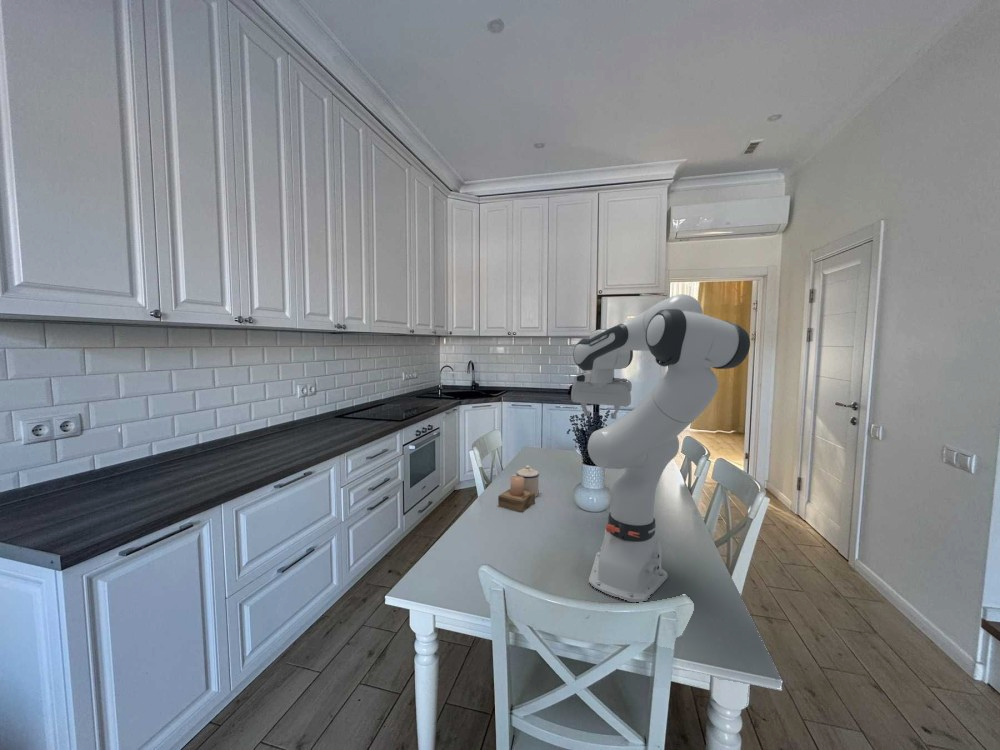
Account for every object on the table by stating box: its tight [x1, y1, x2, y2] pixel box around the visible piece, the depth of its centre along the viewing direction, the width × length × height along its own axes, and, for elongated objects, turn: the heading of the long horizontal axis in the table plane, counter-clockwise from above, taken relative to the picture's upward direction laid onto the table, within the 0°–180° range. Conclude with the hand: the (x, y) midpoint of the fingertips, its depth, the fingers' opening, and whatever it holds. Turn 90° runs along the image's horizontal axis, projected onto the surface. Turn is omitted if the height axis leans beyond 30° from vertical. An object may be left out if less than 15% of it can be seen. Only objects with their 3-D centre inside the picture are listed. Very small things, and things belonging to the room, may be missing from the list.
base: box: [497, 488, 536, 513], centre depth 148 cm, size 10×10×4 cm
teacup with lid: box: [510, 464, 540, 498], centre depth 158 cm, size 12×9×12 cm
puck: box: [509, 475, 524, 496], centre depth 148 cm, size 5×5×6 cm
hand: (599, 417), depth 135 cm, fingers open, 8 cm apart
